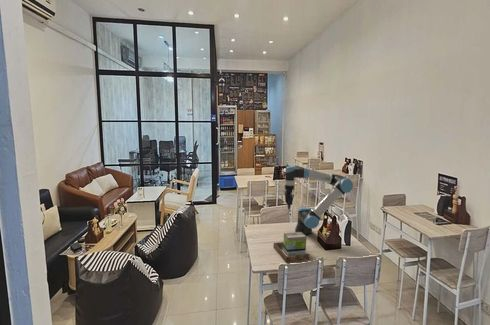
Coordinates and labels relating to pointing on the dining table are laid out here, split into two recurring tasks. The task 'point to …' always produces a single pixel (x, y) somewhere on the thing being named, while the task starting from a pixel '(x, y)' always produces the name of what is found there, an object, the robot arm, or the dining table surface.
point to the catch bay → (289, 258)
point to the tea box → (294, 243)
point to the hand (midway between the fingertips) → (288, 211)
